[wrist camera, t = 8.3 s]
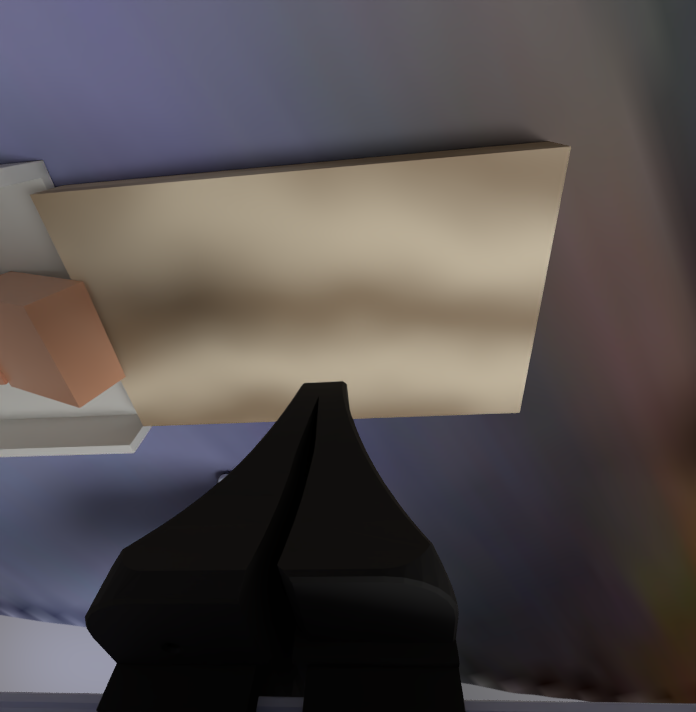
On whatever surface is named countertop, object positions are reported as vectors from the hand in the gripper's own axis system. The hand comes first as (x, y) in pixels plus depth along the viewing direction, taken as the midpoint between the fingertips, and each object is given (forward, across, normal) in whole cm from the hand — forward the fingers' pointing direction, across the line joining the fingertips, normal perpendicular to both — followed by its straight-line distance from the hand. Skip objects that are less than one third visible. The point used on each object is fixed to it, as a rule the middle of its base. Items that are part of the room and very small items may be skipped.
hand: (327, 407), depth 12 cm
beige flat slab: (+8, +1, 0) cm, 8 cm away
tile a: (+7, +13, 0) cm, 15 cm away
